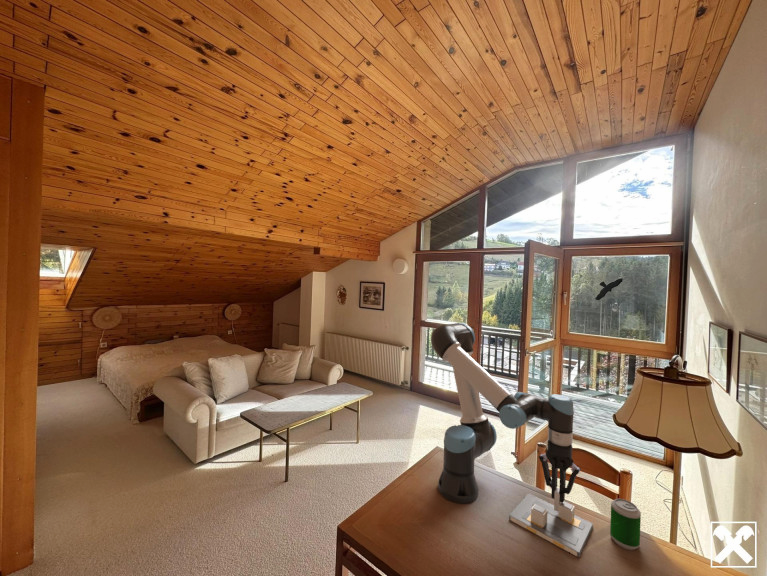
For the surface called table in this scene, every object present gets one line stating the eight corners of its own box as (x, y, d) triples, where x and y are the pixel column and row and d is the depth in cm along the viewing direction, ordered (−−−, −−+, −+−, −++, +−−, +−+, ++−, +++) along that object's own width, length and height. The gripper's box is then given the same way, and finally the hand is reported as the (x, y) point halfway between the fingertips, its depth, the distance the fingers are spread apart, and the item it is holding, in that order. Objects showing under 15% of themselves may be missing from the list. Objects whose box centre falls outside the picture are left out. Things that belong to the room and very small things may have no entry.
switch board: (508, 520, 109) (508, 515, 109) (528, 497, 122) (528, 492, 122) (578, 558, 95) (578, 552, 95) (592, 528, 107) (592, 522, 107)
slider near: (530, 520, 107) (531, 507, 107) (534, 515, 109) (535, 503, 109) (543, 527, 104) (543, 514, 104) (547, 521, 106) (547, 509, 106)
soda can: (645, 554, 97) (646, 515, 97) (617, 549, 98) (618, 510, 98) (631, 535, 104) (632, 498, 104) (605, 531, 106) (606, 495, 106)
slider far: (558, 516, 109) (558, 504, 109) (561, 511, 112) (561, 499, 112) (571, 523, 106) (571, 510, 106) (574, 517, 109) (574, 505, 109)
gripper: (536, 438, 113) (534, 504, 113) (578, 452, 103) (575, 524, 104) (543, 431, 118) (541, 495, 118) (584, 444, 109) (582, 513, 109)
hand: (557, 509), depth 111 cm, fingers closed
